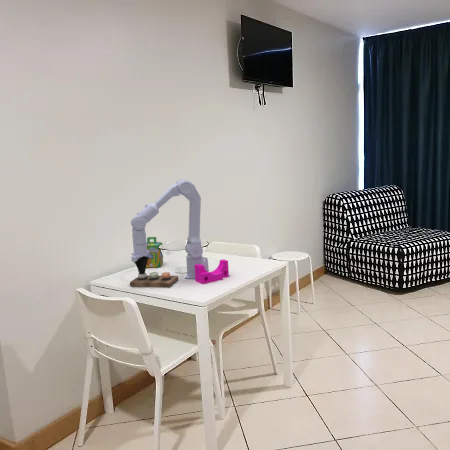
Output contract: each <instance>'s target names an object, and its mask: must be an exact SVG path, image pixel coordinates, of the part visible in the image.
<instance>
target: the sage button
mask: <svg viewBox="0 0 450 450" xmlns="http://www.w3.org/2000/svg"><path fill="white" fill-rule="evenodd" d="M149 275H150V278H156V277H158V276H159V272H157V271H154V272H149Z"/></svg>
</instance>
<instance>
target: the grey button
mask: <svg viewBox="0 0 450 450" xmlns="http://www.w3.org/2000/svg"><path fill="white" fill-rule="evenodd" d="M137 277H138V278H146V277H147V273H146V272H145V274H139V273H138V274H137Z"/></svg>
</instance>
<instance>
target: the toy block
mask: <svg viewBox="0 0 450 450" xmlns="http://www.w3.org/2000/svg"><path fill="white" fill-rule="evenodd" d="M229 273H230V272H229V260H228V259H227V260H226V259H223V258H222V259H220V260H219V263H218V265H217V267H216V268H215V269H214V270H212V271H209V272H207V271H206V269H205V267H204V265H202V264H197V265H195V278H194V279H195V280H194V281H195V282H197V283H198V284H201V285H205V284H209V283H214V282H219V281H223V280H224V278H229V277H230V275H229Z"/></svg>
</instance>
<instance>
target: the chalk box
mask: <svg viewBox="0 0 450 450" xmlns="http://www.w3.org/2000/svg"><path fill="white" fill-rule="evenodd" d="M151 240H153V241H151ZM146 244H147V250H149V254H148V255H146V256H145V257H149V259H148V261H147V264H146V269H153V268H156V269H160V268H161V267H162V266H163V264H164V255H163V254H162V252H161V250H160V249H159V246H160V245H162V246H163V242H161V241H157V237H156V236H148V237H147V236H146ZM159 267H160V268H159Z"/></svg>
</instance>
